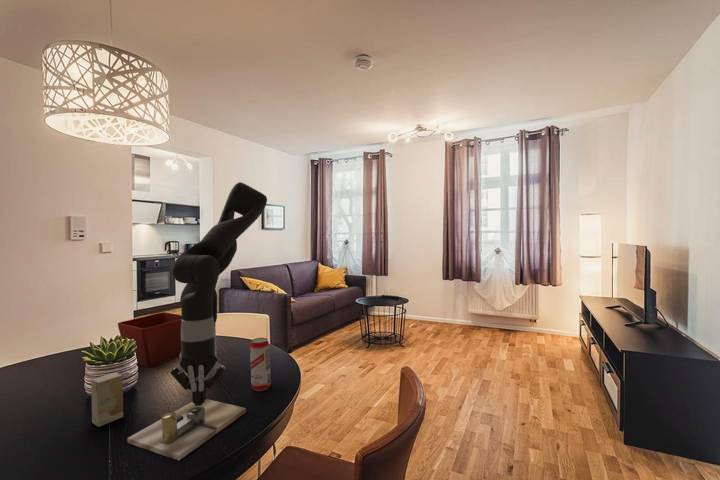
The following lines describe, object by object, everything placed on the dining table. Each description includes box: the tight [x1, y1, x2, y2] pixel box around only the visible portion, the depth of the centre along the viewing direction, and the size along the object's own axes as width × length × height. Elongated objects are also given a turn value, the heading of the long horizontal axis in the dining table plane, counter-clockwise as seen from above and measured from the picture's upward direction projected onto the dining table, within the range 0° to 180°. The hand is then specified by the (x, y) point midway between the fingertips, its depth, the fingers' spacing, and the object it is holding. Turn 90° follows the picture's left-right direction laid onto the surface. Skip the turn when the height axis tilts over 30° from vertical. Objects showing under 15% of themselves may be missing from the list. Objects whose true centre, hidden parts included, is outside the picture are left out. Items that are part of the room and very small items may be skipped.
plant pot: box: [117, 312, 182, 368], centre depth 141 cm, size 19×19×17 cm
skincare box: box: [90, 372, 124, 428], centre depth 96 cm, size 6×4×12 cm
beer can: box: [249, 337, 272, 392], centre depth 113 cm, size 6×6×16 cm
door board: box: [126, 398, 247, 462], centre depth 92 cm, size 18×22×4 cm
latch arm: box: [160, 407, 205, 442], centre depth 87 cm, size 12×4×6 cm, turn 159°
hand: (199, 404), depth 85 cm, fingers closed
